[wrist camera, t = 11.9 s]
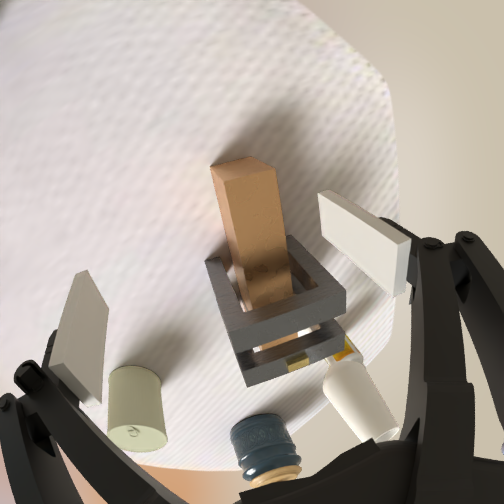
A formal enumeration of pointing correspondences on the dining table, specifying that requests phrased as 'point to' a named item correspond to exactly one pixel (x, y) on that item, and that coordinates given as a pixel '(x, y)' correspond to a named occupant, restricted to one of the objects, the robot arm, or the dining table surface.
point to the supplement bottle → (349, 353)
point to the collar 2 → (291, 350)
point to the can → (135, 410)
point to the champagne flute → (357, 399)
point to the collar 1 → (279, 302)
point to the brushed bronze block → (254, 232)
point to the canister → (265, 450)
